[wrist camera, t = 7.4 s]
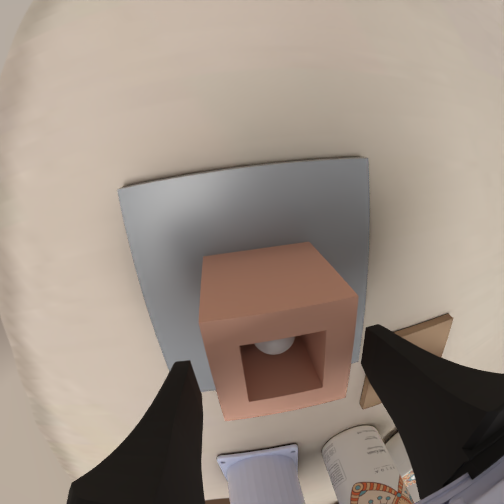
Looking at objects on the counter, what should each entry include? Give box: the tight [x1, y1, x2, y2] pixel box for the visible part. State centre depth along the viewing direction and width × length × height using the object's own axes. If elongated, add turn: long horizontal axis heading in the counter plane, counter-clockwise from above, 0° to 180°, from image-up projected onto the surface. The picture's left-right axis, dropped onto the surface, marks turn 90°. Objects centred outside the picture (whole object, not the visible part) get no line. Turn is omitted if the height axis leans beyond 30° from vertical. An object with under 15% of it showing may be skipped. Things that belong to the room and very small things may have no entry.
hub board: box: [117, 157, 370, 392], centre depth 15 cm, size 14×13×6 cm
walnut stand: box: [360, 314, 453, 409], centre depth 20 cm, size 8×8×4 cm
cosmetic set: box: [322, 425, 416, 504], centre depth 19 cm, size 25×9×19 cm, turn 70°
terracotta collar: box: [199, 242, 359, 421], centre depth 13 cm, size 6×6×6 cm
